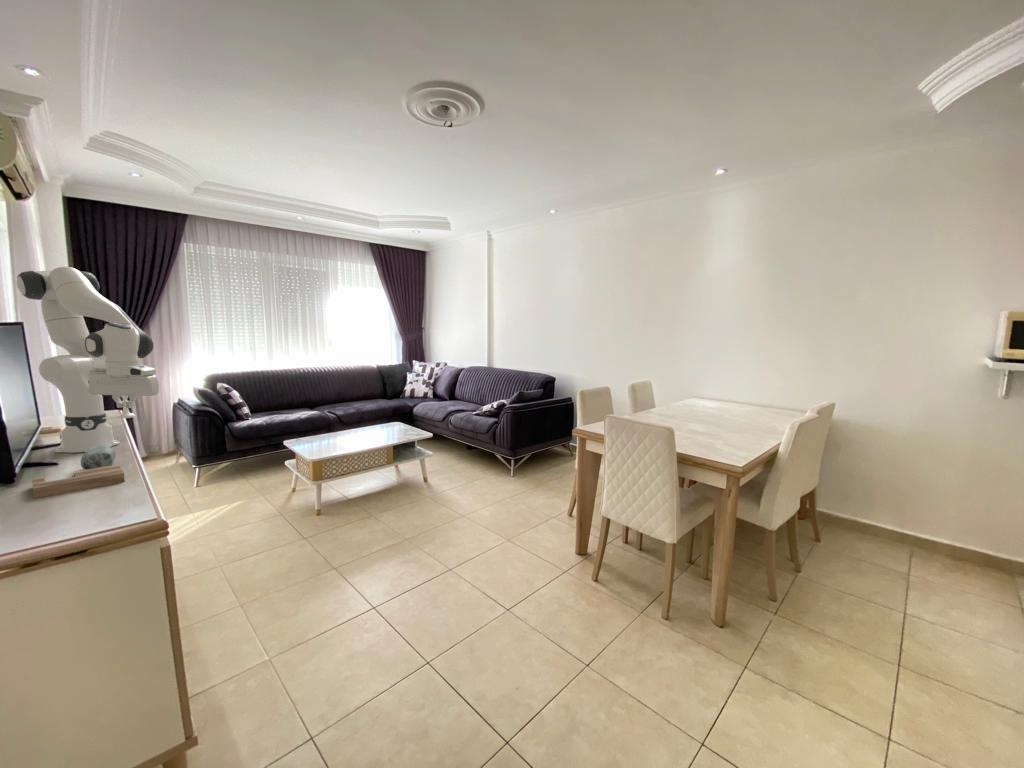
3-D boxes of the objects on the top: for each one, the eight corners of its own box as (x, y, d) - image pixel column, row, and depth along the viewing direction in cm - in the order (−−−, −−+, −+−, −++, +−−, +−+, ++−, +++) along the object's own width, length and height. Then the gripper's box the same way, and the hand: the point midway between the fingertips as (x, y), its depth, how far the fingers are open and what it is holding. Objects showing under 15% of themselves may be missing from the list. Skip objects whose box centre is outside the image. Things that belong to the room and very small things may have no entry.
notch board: (33, 487, 132) (32, 478, 132) (119, 472, 147) (118, 464, 147) (33, 498, 124) (32, 488, 124) (124, 481, 140) (123, 472, 139)
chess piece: (131, 418, 149) (130, 390, 148) (114, 418, 147) (112, 390, 146) (137, 415, 154) (136, 388, 153) (120, 415, 152) (118, 388, 151)
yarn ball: (119, 463, 148) (100, 439, 146) (86, 480, 142) (66, 455, 140) (127, 461, 159) (110, 440, 157) (97, 477, 154) (78, 455, 152)
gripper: (81, 368, 144) (84, 408, 145) (149, 371, 147) (151, 409, 149) (96, 367, 150) (99, 405, 152) (160, 369, 153) (162, 406, 155)
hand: (125, 407), depth 150 cm, fingers closed on chess piece
